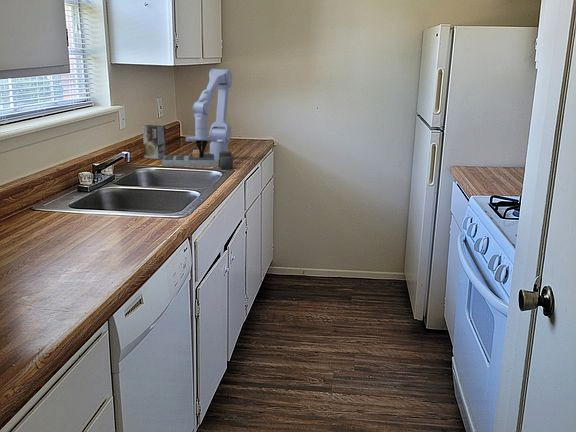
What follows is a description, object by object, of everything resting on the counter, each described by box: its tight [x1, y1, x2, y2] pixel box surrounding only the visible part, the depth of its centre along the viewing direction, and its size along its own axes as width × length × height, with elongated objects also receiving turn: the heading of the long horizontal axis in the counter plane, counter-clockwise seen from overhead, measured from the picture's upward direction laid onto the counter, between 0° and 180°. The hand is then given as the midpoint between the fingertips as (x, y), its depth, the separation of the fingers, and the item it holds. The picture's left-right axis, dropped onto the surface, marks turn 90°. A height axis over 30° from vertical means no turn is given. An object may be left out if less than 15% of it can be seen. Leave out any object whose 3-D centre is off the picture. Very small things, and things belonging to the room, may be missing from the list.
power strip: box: [161, 149, 220, 168], centre depth 276 cm, size 26×13×6 cm, turn 98°
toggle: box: [192, 151, 200, 158], centre depth 273 cm, size 3×4×3 cm
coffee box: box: [142, 124, 167, 160], centre depth 290 cm, size 9×6×16 cm
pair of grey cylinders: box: [219, 151, 234, 170], centre depth 275 cm, size 6×21×5 cm, turn 8°
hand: (201, 156), depth 273 cm, fingers closed
